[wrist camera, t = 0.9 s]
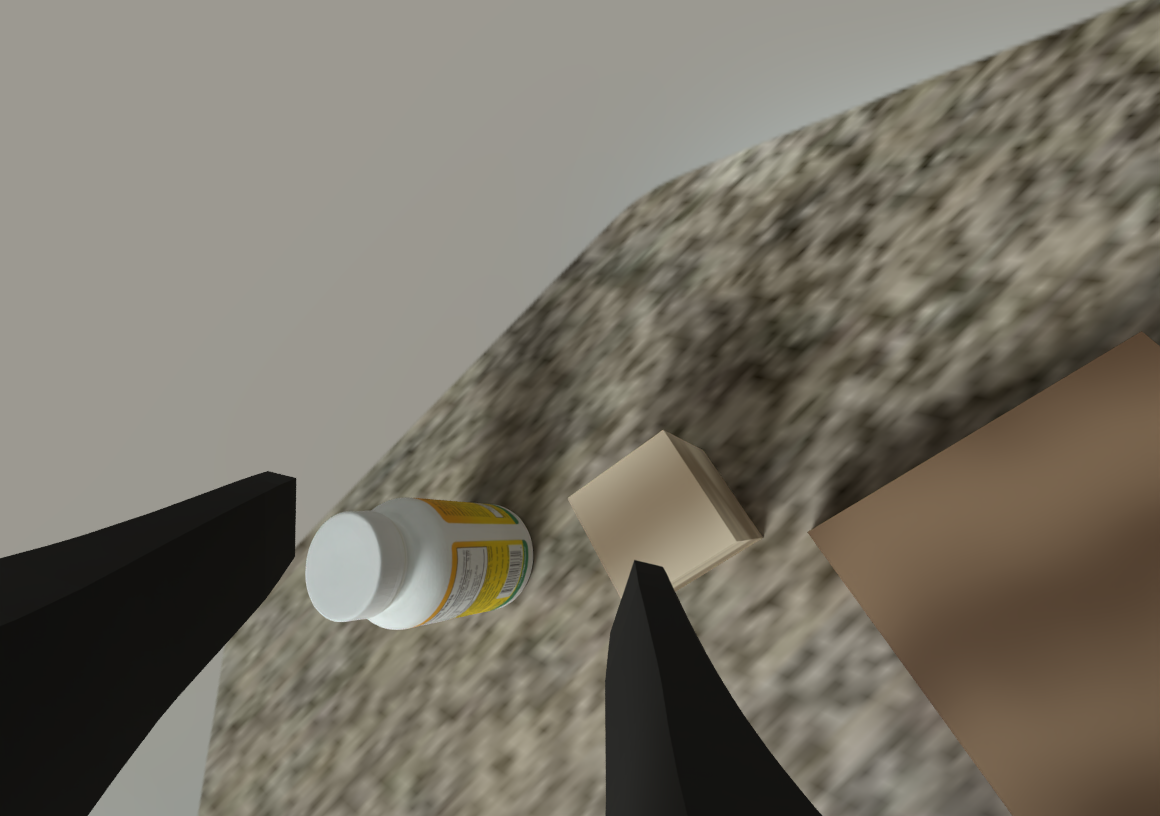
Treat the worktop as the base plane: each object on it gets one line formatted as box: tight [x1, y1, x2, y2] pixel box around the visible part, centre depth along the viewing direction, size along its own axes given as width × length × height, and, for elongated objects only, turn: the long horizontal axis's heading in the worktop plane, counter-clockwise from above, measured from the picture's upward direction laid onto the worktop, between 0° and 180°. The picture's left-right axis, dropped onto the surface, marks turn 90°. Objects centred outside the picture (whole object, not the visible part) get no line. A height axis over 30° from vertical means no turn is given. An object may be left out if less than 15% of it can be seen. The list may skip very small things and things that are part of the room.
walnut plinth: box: [808, 331, 1160, 816], centre depth 17 cm, size 12×12×2 cm
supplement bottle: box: [306, 498, 533, 630], centre depth 24 cm, size 5×5×10 cm
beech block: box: [568, 430, 763, 599], centre depth 21 cm, size 4×4×6 cm
